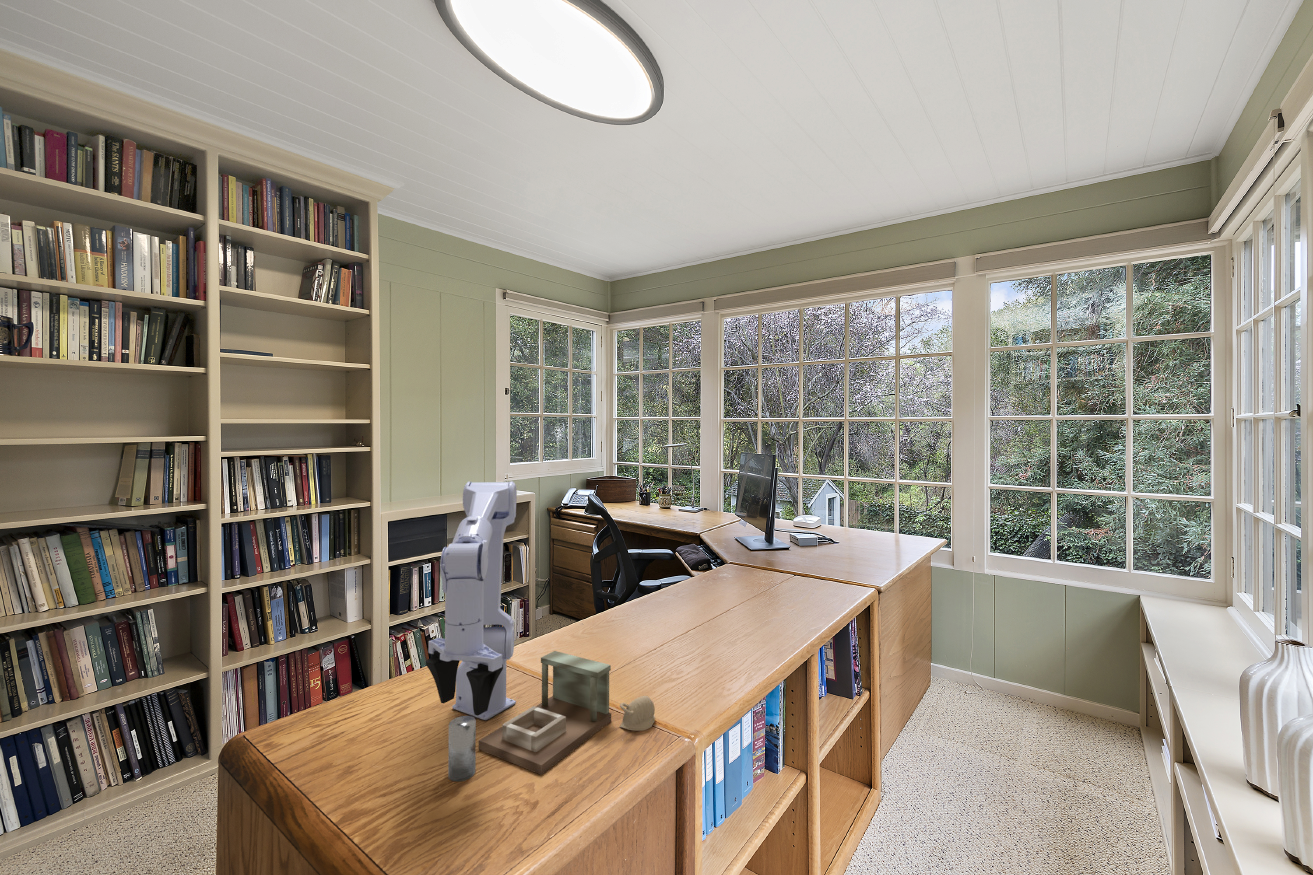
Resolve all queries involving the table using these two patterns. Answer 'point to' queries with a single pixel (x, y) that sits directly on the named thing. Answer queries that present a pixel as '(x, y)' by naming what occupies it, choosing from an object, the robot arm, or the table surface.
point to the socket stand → (556, 715)
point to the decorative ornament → (638, 714)
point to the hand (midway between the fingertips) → (463, 706)
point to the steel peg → (462, 748)
